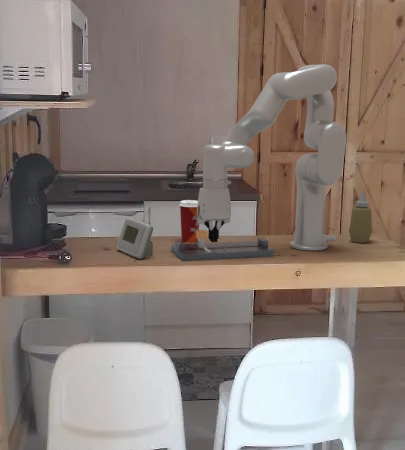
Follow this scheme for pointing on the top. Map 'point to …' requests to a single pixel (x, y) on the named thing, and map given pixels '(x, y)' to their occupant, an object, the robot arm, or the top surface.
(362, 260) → the top surface
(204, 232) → the fader tab
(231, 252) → the grey slider board
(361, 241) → the squeeze bottle
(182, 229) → the paper cup
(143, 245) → the digital clock
